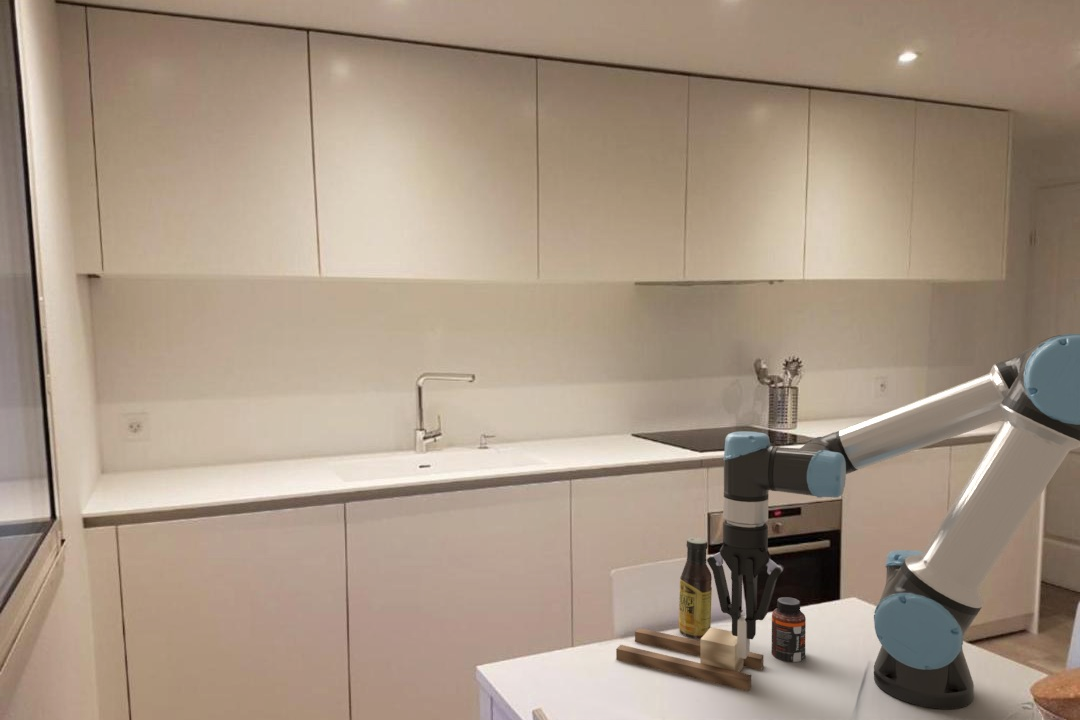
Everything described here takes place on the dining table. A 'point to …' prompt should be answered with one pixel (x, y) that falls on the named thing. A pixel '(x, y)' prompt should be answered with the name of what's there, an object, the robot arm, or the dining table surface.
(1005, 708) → the dining table surface
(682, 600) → the sauce bottle
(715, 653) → the block
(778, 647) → the supplement bottle
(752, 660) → the walnut chute
